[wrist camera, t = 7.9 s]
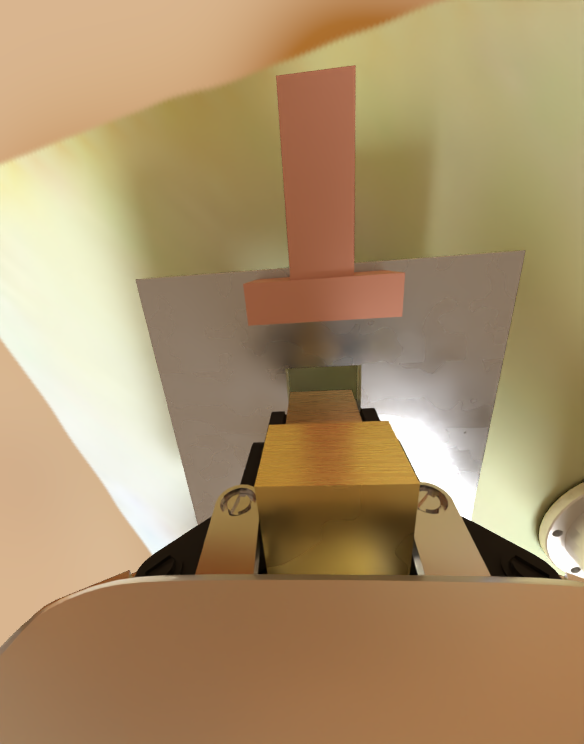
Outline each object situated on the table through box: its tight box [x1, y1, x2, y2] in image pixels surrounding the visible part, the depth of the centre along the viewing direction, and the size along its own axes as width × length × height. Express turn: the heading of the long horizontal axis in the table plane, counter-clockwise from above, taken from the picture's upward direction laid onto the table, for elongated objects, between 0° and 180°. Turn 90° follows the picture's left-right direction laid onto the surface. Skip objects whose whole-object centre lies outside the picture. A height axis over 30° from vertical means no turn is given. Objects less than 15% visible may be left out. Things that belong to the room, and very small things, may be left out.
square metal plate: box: [136, 250, 526, 525], centre depth 18 cm, size 18×21×12 cm
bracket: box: [243, 65, 405, 326], centre depth 11 cm, size 6×8×3 cm
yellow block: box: [254, 390, 420, 575], centre depth 10 cm, size 3×7×8 cm, turn 4°
